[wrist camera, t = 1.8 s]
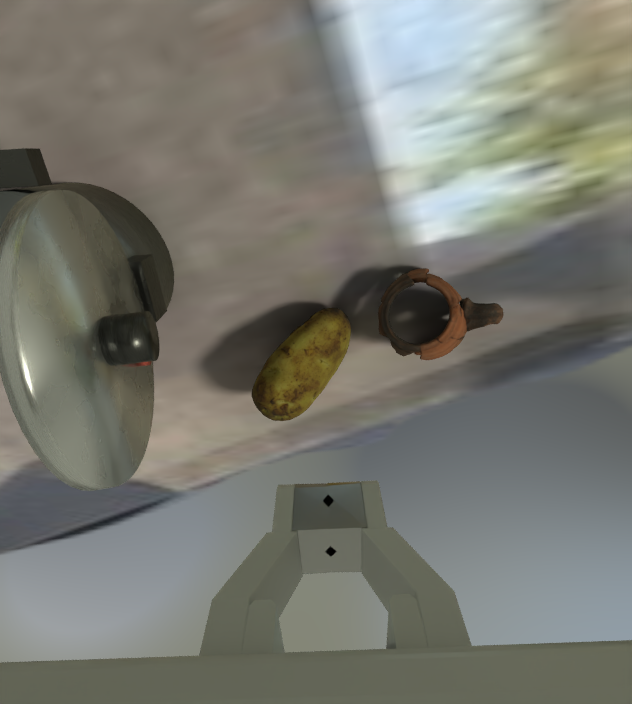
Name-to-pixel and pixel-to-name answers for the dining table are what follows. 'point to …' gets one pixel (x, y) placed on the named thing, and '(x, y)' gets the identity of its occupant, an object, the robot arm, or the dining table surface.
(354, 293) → the dining table surface
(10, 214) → the lid
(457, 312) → the pottery mug
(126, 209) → the pot
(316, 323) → the potato
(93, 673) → the robot arm
